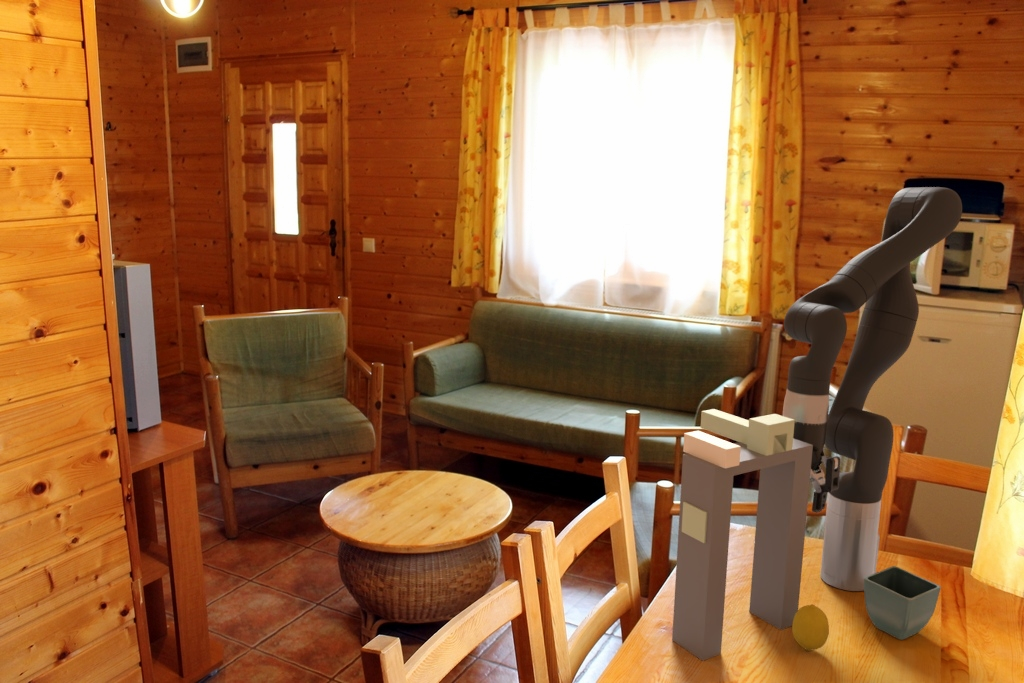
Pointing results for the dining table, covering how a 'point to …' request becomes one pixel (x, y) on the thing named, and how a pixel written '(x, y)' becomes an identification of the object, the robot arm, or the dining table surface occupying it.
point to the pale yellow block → (752, 430)
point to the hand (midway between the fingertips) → (795, 503)
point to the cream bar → (712, 449)
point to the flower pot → (899, 601)
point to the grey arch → (709, 541)
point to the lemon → (810, 627)
